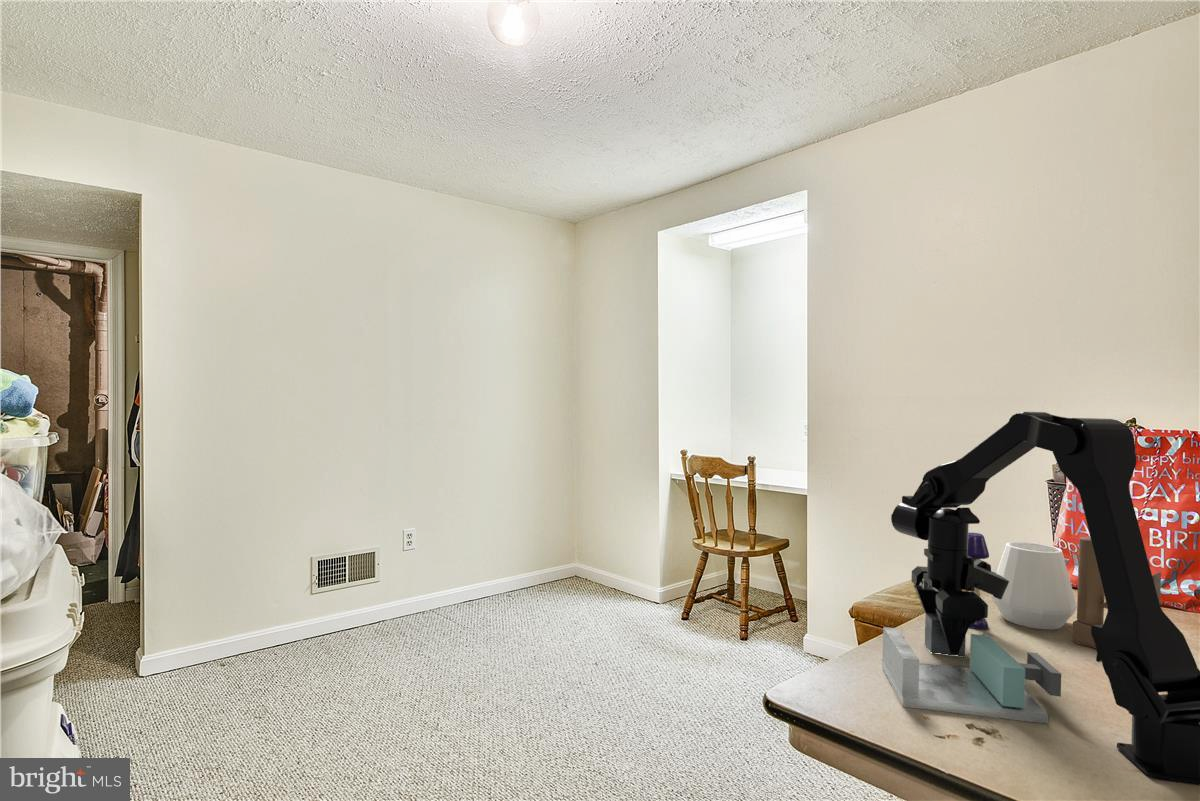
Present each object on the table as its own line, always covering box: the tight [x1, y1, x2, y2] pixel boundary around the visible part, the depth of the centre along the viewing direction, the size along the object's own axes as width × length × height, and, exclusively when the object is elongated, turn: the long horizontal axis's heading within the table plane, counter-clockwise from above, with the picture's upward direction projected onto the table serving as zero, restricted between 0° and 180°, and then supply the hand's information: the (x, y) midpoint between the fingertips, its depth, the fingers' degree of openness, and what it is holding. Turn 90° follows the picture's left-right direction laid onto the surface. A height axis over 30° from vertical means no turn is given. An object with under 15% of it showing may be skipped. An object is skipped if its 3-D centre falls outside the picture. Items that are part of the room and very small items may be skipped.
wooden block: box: [1071, 536, 1162, 649], centre depth 106 cm, size 4×11×18 cm, turn 35°
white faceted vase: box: [990, 541, 1077, 631], centre depth 120 cm, size 13×13×14 cm
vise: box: [880, 626, 1049, 724], centre depth 89 cm, size 13×17×6 cm
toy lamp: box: [968, 532, 990, 630], centre depth 117 cm, size 5×5×17 cm
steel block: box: [924, 613, 967, 658], centre depth 104 cm, size 4×5×6 cm
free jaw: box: [969, 633, 1062, 708], centre depth 88 cm, size 12×8×5 cm, turn 168°
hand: (944, 642), depth 104 cm, fingers open, 9 cm apart
